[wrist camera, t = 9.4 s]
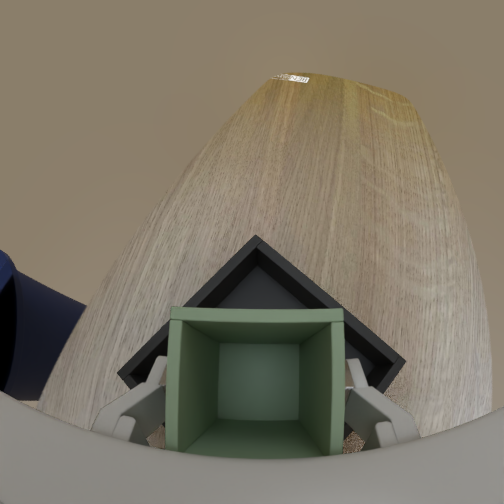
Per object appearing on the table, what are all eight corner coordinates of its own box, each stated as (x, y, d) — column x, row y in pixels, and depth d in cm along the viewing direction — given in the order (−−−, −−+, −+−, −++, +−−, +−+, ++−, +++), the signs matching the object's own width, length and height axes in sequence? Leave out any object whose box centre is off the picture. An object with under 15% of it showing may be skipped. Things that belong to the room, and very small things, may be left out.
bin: (140, 373, 23) (116, 372, 19) (257, 256, 27) (255, 234, 23) (265, 488, 18) (265, 510, 14) (383, 363, 22) (406, 361, 18)
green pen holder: (212, 422, 13) (165, 467, 6) (214, 336, 15) (170, 306, 8) (303, 424, 13) (341, 472, 6) (304, 337, 15) (343, 307, 8)
